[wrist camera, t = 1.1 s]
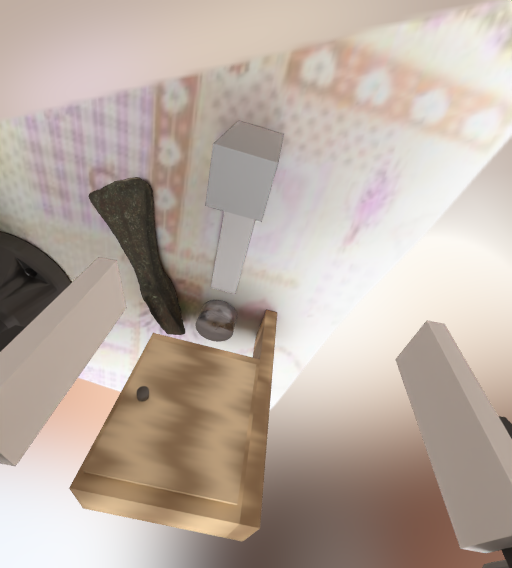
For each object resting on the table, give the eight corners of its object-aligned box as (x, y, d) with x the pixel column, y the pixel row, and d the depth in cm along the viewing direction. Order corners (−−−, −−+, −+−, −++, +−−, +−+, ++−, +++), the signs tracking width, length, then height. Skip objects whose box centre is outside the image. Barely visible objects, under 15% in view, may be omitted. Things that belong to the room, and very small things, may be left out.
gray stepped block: (211, 273, 34) (189, 327, 27) (238, 120, 23) (213, 143, 16) (242, 282, 34) (228, 337, 27) (283, 134, 23) (278, 162, 16)
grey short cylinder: (200, 320, 40) (194, 336, 37) (204, 295, 36) (197, 311, 34) (233, 328, 40) (229, 345, 38) (240, 304, 37) (236, 321, 34)
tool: (93, 183, 30) (72, 190, 28) (152, 172, 28) (135, 179, 25) (161, 327, 41) (150, 342, 38) (208, 327, 38) (200, 343, 36)
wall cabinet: (175, 317, 40) (83, 508, 22) (178, 279, 35) (65, 482, 18) (265, 340, 40) (242, 541, 23) (279, 306, 36) (264, 525, 19)
